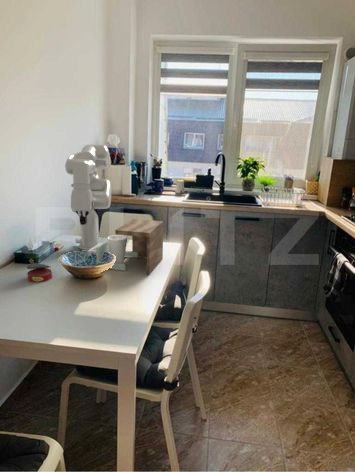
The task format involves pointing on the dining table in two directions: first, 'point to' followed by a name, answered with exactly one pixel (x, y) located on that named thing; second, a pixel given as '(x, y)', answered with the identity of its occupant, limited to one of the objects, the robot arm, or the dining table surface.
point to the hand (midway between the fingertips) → (83, 224)
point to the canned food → (39, 272)
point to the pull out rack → (104, 247)
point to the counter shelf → (145, 240)
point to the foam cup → (117, 247)
